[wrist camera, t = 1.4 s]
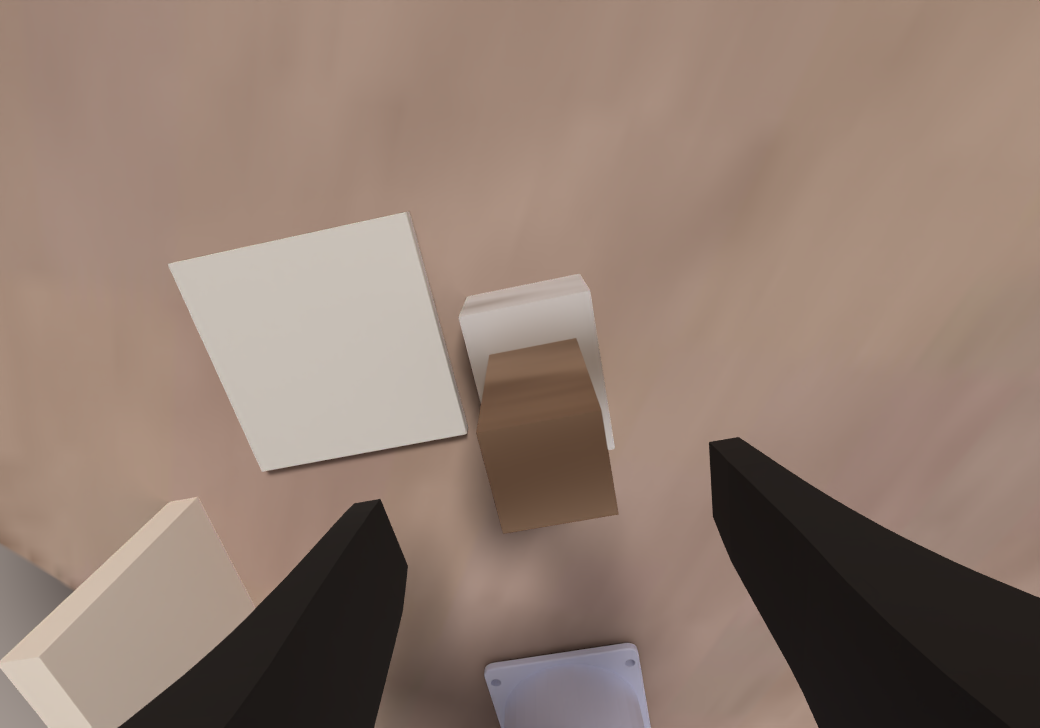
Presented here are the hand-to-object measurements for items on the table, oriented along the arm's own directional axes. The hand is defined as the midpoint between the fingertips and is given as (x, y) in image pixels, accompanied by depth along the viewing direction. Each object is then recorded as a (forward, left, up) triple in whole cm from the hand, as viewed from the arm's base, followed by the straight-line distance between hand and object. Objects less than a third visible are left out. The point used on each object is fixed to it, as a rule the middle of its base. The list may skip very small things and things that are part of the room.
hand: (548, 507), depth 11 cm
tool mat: (+2, +8, -10) cm, 13 cm away
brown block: (0, 0, -10) cm, 10 cm away
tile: (-7, +17, -10) cm, 21 cm away
